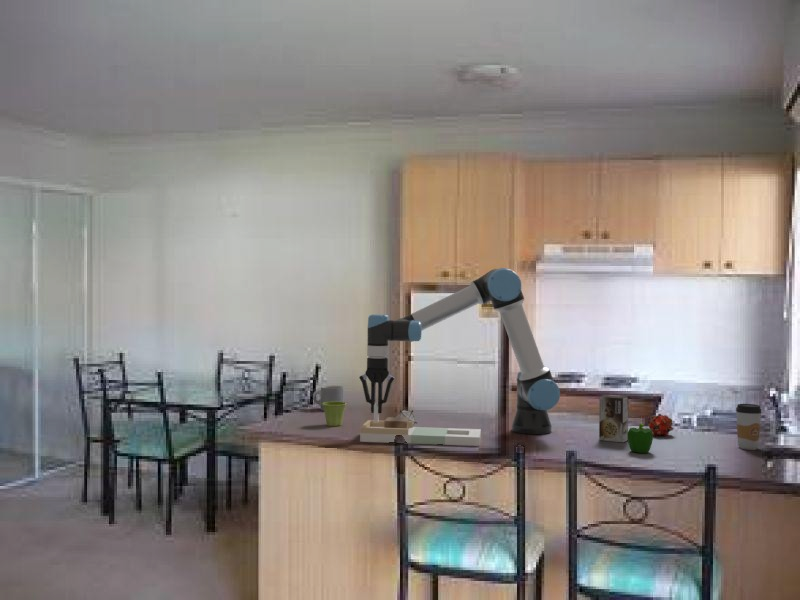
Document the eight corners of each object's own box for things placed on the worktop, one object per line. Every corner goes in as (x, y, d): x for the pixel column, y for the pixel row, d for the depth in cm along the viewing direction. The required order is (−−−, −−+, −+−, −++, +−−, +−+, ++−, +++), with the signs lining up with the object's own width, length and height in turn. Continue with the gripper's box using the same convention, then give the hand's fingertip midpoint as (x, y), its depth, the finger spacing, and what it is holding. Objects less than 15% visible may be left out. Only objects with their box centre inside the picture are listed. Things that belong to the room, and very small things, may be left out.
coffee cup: (746, 451, 274) (747, 407, 274) (729, 446, 282) (730, 403, 282) (766, 449, 277) (767, 406, 276) (749, 445, 285) (750, 403, 284)
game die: (403, 441, 304) (392, 421, 300) (397, 429, 312) (387, 410, 307) (423, 429, 304) (413, 410, 300) (418, 418, 312) (407, 399, 308)
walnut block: (409, 428, 293) (409, 417, 292) (406, 432, 285) (406, 421, 285) (387, 428, 294) (387, 417, 293) (384, 431, 286) (384, 420, 286)
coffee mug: (346, 408, 359) (346, 386, 358) (338, 411, 349) (338, 388, 349) (318, 406, 362) (318, 384, 362) (310, 410, 353) (310, 387, 353)
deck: (480, 437, 293) (480, 423, 293) (479, 446, 277) (479, 431, 277) (367, 433, 299) (367, 420, 299) (360, 441, 283) (360, 427, 283)
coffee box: (628, 440, 291) (629, 396, 291) (622, 443, 286) (623, 398, 286) (604, 437, 296) (605, 393, 296) (598, 440, 291) (598, 395, 291)
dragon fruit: (668, 437, 307) (657, 446, 297) (649, 422, 310) (638, 431, 301) (680, 421, 303) (670, 430, 293) (662, 406, 306) (651, 415, 297)
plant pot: (343, 427, 310) (343, 405, 310) (319, 426, 312) (319, 404, 311) (348, 423, 319) (348, 401, 319) (325, 422, 321) (325, 401, 321)
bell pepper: (628, 448, 276) (628, 419, 276) (653, 450, 273) (653, 421, 273) (625, 453, 268) (626, 423, 268) (651, 455, 265) (652, 425, 265)
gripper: (396, 356, 292) (395, 421, 293) (361, 355, 294) (360, 419, 295) (393, 358, 285) (392, 424, 285) (357, 357, 287) (356, 423, 287)
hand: (376, 422), depth 290 cm, fingers closed
